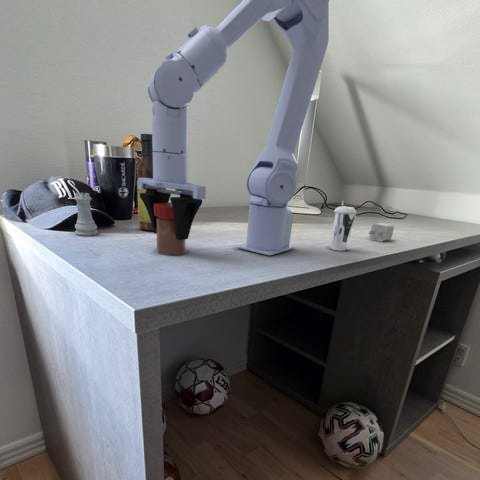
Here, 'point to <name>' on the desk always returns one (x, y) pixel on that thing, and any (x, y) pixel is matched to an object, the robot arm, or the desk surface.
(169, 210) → the cap
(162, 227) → the jar
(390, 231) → the usb wall charger
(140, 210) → the sauce bottle
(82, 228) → the rook chess piece
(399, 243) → the desk surface
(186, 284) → the desk surface
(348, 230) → the milkshake
